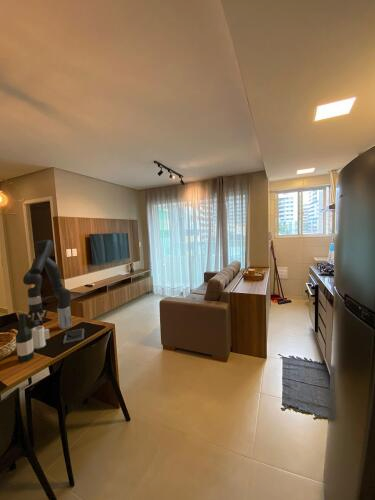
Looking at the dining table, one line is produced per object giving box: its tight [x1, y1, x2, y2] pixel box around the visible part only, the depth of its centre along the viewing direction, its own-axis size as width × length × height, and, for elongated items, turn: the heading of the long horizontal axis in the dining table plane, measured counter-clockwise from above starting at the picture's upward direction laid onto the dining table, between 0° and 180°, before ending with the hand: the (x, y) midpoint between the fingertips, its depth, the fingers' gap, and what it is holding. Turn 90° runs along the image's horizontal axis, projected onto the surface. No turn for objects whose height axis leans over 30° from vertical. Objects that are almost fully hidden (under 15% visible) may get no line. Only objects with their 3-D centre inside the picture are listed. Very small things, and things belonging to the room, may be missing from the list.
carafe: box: [30, 325, 50, 350], centre depth 150 cm, size 10×8×13 cm
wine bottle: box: [15, 312, 35, 363], centre depth 134 cm, size 8×8×30 cm
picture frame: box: [62, 328, 85, 345], centre depth 163 cm, size 13×2×18 cm
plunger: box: [33, 319, 40, 330], centre depth 149 cm, size 5×5×13 cm
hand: (37, 326), depth 149 cm, fingers closed on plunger, 3 cm apart
